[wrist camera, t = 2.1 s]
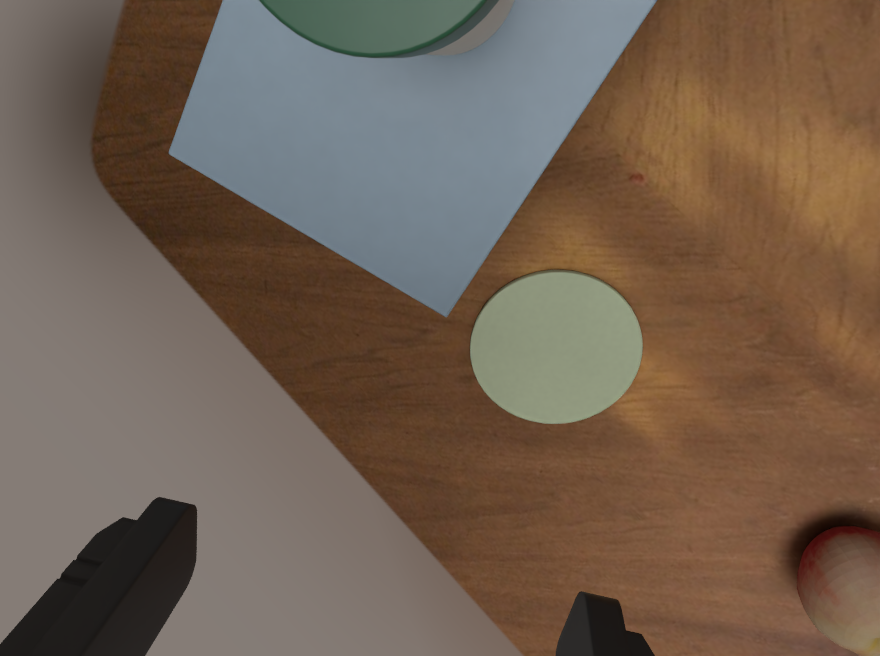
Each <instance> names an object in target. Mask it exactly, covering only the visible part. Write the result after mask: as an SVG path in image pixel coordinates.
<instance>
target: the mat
mask: <svg viewBox="0 0 880 656" xmlns="http://www.w3.org/2000/svg"><path fill="white" fill-rule="evenodd" d="M642 349H643V344H642V334H641V329H640V326H639V323H638V320H637V318H636V316H635V314H634V312H633V310H632V308H631V307H630V305H629V304H628V302H627V301H626V300H625V299H624V297H623V296H622V295H621V294H620V293H619V292H617V291H616V290H615V289H614V288H613V287H611V286H610V285H608V284H607V283H605V282H604V281H602V280H600V279H598V278H596V277H593V276H591V275H588V274H585V273H581V272H576V271H570V270H546V271H539V272H535V273H531V274H528V275H525V276H523V277H520V278H518V279H516V280H514V281H512V282H510V283H508V284H507V285H505V286H504V287H503V288H501V289H500V290H498V291H497V292H496V293H495V294H494V295H493V296H492V297H491V298H490V299H489V300H488V302H487V303H486V304H485V305H484V307H483V308H482V310H481V311H480V313H479V315H478V317H477V319H476V321H475V324H474V327H473V331H472V335H471V342H470V358H471V363H472V368H473V371H474V373H475V376H476V378H477V380H478V382H479V384H480V386H481V387H482V388H483V390H484V391H485V393H486V394H487V395H488V396H489V397H490V398H491V399H492V400H493V401H494V402H495V403H496V404H498V405H499V406H500V407H501V408H503V409H504V410H506V411H508V412H509V413H511V414H513V415H515V416H518V417H520V418H523V419H526V420H530V421H534V422H539V423H547V424H561V423H570V422H575V421H579V420H583V419H586V418H589V417H591V416H593V415H596V414H598V413H600V412H601V411H603V410H605V409H606V408H608V407H609V406H611V405H612V404H613V403H615V402H616V401H617V400H618V399H619V398H620V397H621V396H622V395H623V394H624V393H625V391H626V390H627V389H628V388H629V386H630V385H631V383H632V381H633V380H634V378H635V376H636V374H637V371H638V369H639V366H640V362H641V358H642Z"/></svg>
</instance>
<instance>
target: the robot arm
mask: <svg viewBox="0 0 880 656" xmlns="http://www.w3.org/2000/svg"><path fill="white" fill-rule="evenodd" d="M196 545H197V509H196V506H195V505H192V504H188V503H184V502H179V501H175V500H170V499H166V498H161V497H158V498H156V499H155V500H153V501H152V502H151V504H150V505H149V506H148V507H147V509H146V510H145V511H144V512H143V513H142V515H141V516H140V517H139V518H138V520H133V519H128V518H124V517H123V518H121V519H119V520H118V521H116V522H115V523H113V524H111V525H110V526H108V527H107V528H105V529H103V530H102V531H100V532H99V533H97V534H96V535H95V536H94V537H93V538H92V540H91V541H90V542H89V543H88V544H87V545H86V546H85V548H84V549H83V550H82V551H81V552H80V553H79V554H78V556H77V559H76V560H73V561H72V563H71V564H70V565H69V566H68V567H67V568H66V569H65V571H64V572H63V573H62V575H61V577H60V579H57V580H56V581H55V582H54V583H53V584H52V586H51V587H50V588H49V589H48V590H47V591H46V592H45V593H44V595H43V596H42V597H41V598H40V599H39V600H38V602H37V603H36V604H35V605H34V606H33V607H32V608H31V609H30V611H29V612H28V613H27V614H26V615H25V616H24V618H23V619H22V620H21V621H20V622H19V623H18V624H17V626H16V627H15V628H14V629H13V630H12V631H11V633H10V634H9V635H8V636H7V637H6V638H5V639H4V640H3V642H2V643H1V644H0V656H145V655H146V653H147V652H148V650H149V648H150V647H151V645H152V644H153V642H154V640H155V639H156V637H157V635H158V634H159V632H160V630H161V629H162V627H163V625H164V624H165V622H166V621H167V619H168V617H169V615H170V614H171V613H172V611H173V609H174V608H175V606H176V604H177V603H178V601H179V599H180V598H181V596H182V595H183V593H184V591H185V590H186V588H187V586H188V584H189V581H190V579H191V577H192V574H193V571H194V567H195V563H196V550H197V547H196ZM556 656H655V655H654V654H653V652H652V650H651V649H650V647H649V645H648V644H647V642H646V641H645V639H644V637H643V636H642V634H639V633H635V632H630V631H626V629H625V624H624V619H623V614H622V609H621V606H620V603H619V601H618V600H617V599H613V598H608V597H604V596H599V595H595V594H591V593H586V592H582V591H581V592H579V593H578V595H577V597H576V599H575V602H574V604H573V606H572V609H571V611H570V614H569V616H568V619H567V621H566V623H565V626H564V628H563V631H562V633H561V635H560V638H559V641H558V645H557V649H556Z"/></svg>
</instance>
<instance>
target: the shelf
mask: <svg viewBox="0 0 880 656" xmlns="http://www.w3.org/2000/svg"><path fill="white" fill-rule="evenodd" d="M656 1H657V0H514V3H513V5H512V8H511V10H510V12H509V14H508V16H507V17H506V19H505V20H504V22H503V24H502V25H501V26H500V27H499V29H498V30H497V31H496V32H495V33H494V34H493V35H492V36H491V37H490V38H489V39H488V40H486V41H485V42H484V43H482V44H481V45H479V46H478V47H476V48H474V49H472V50H469V51H467V52H464V53H460V54H456V55H445V56H443V55H427V54H424V55H419V56H414V57H407V58H366V57H354V56H349V55H345V54H341V53H336V52H333V51H331V50H328V49H325V48H323V47H320V46H318V45H315V44H313V43H312V42H310V41H308V40H306V39H304V38H302V37H301V36H299V35H297V34H296V33H295V32H293V31H292V30H290V29H289V28H288V27H286V26H285V25H284V24H282V23H281V22H280V21H279V20H278V19H277V18H276V17H274V16H273V15H272V14H271V13H270V12H269V11H268V10H267V9H266V8H265V7H264V6H263V5H262V3H261V2H260V1H259V0H223V2H222V4H221V7H220V10H219V13H218V16H217V18H216V21H215V24H214V27H213V30H212V32H211V35H210V38H209V41H208V44H207V46H206V49H205V52H204V55H203V58H202V60H201V63H200V66H199V69H198V72H197V74H196V77H195V80H194V83H193V86H192V88H191V91H190V94H189V97H188V100H187V102H186V105H185V108H184V111H183V114H182V116H181V119H180V122H179V125H178V128H177V130H176V133H175V136H174V139H173V142H172V144H171V147H170V150H169V154H170V155H171V156H173V157H175V158H176V159H178V160H180V161H182V162H183V163H185V164H187V165H188V166H190V167H192V168H193V169H195V170H197V171H199V172H200V173H202V174H204V175H205V176H207V177H209V178H210V179H212V180H214V181H216V182H217V183H219V184H221V185H222V186H224V187H226V188H227V189H229V190H231V191H232V192H234V193H236V194H238V195H239V196H241V197H243V198H244V199H246V200H248V201H249V202H251V203H253V204H255V205H256V206H258V207H260V208H261V209H263V210H265V211H266V212H268V213H270V214H272V215H273V216H275V217H277V218H278V219H280V220H282V221H283V222H285V223H287V224H289V225H290V226H292V227H294V228H295V229H297V230H299V231H300V232H302V233H304V234H306V235H307V236H309V237H311V238H312V239H314V240H316V241H317V242H319V243H321V244H323V245H324V246H326V247H328V248H329V249H331V250H333V251H334V252H336V253H338V254H339V255H341V256H343V257H345V258H346V259H348V260H350V261H351V262H353V263H355V264H356V265H358V266H360V267H362V268H363V269H365V270H367V271H368V272H370V273H372V274H373V275H375V276H377V277H379V278H380V279H382V280H384V281H385V282H387V283H389V284H390V285H392V286H394V287H396V288H397V289H399V290H401V291H402V292H404V293H406V294H407V295H409V296H411V297H413V298H414V299H416V300H418V301H419V302H421V303H423V304H424V305H426V306H428V307H430V308H431V309H433V310H435V311H436V312H438V313H440V314H441V315H443V316H445V317H447V316H448V315H449V313H450V312H451V310H452V309H453V307H454V306H455V304H456V303H457V301H458V300H459V298H460V297H461V295H462V294H463V292H464V291H465V289H466V288H467V286H468V285H469V283H470V282H471V280H472V279H473V277H474V275H475V274H476V272H477V271H478V269H479V268H480V266H481V265H482V263H483V262H484V260H485V259H486V257H487V256H488V254H489V253H490V251H491V250H492V248H493V247H494V245H495V244H496V242H497V241H498V239H499V238H500V236H501V235H502V233H503V232H504V230H505V229H506V227H507V226H508V224H509V223H510V221H511V220H512V218H513V217H514V215H515V214H516V212H517V211H518V209H519V208H520V206H521V205H522V203H523V202H524V200H525V199H526V197H527V196H528V194H529V193H530V191H531V190H532V188H533V187H534V185H535V184H536V182H537V181H538V179H539V177H540V176H541V174H542V173H543V171H544V170H545V168H546V167H547V165H548V164H549V162H550V161H551V159H552V158H553V156H554V155H555V153H556V152H557V150H558V149H559V147H560V146H561V144H562V143H563V141H564V140H565V138H566V137H567V135H568V134H569V132H570V131H571V129H572V128H573V126H574V125H575V123H576V122H577V120H578V119H579V117H580V116H581V114H582V113H583V111H584V110H585V108H586V107H587V105H588V104H589V102H590V101H591V99H592V98H593V96H594V95H595V93H596V92H597V90H598V89H599V87H600V86H601V84H602V82H603V81H604V79H605V78H606V76H607V75H608V73H609V72H610V70H611V69H612V67H613V66H614V64H615V63H616V61H617V60H618V58H619V57H620V55H621V54H622V52H623V51H624V49H625V48H626V46H627V45H628V43H629V42H630V40H631V39H632V37H633V36H634V34H635V33H636V31H637V30H638V28H639V27H640V25H641V24H642V22H643V21H644V19H645V18H646V16H647V15H648V13H649V12H650V10H651V9H652V7H653V6H654V4H655V3H656Z"/></svg>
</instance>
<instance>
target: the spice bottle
mask: <svg viewBox="0 0 880 656" xmlns="http://www.w3.org/2000/svg"><path fill="white" fill-rule="evenodd" d="M259 1H260V2H261V3H262V5H263V6H264V7H265V8H266V9H267V10H268V11H269V12H270V13H271V14H272V15H273V16H274V17H276V18H277V19H278V20H279V21H280V22H281V23H282V24H284V25H285V26H286V27H288V28H289V29H290V30H292V31H293V32H295V33H296V34H297V35H299V36H301V37H302V38H304V39H306V40H308V41H310V42H312V43H313V44H315V45H318V46H320V47H323V48H325V49H328V50H331V51H333V52H336V53H341V54H345V55H349V56H354V57H366V58H407V57H414V56H419V55H424V54H427V55H443V56H445V55H456V54H460V53H464V52H467V51H469V50H472V49H474V48H476V47H478V46H479V45H481V44H482V43H484V42H485V41H486V40H488V39H489V38H490V37H491V36H492V35H493V34H494V33H495V32H496V31H497V30H498V29H499V27H500V26H501V25H502V24H503V22H504V20H505V19H506V17H507V16H508V14H509V12H510V10H511V8H512V5H513V3H514V0H259Z"/></svg>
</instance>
